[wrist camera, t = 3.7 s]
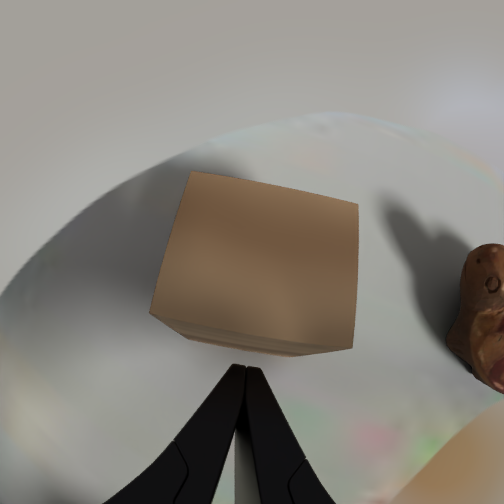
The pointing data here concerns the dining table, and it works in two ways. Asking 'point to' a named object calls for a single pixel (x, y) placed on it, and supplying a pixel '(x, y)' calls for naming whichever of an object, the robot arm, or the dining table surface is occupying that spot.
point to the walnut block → (260, 268)
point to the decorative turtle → (482, 316)
